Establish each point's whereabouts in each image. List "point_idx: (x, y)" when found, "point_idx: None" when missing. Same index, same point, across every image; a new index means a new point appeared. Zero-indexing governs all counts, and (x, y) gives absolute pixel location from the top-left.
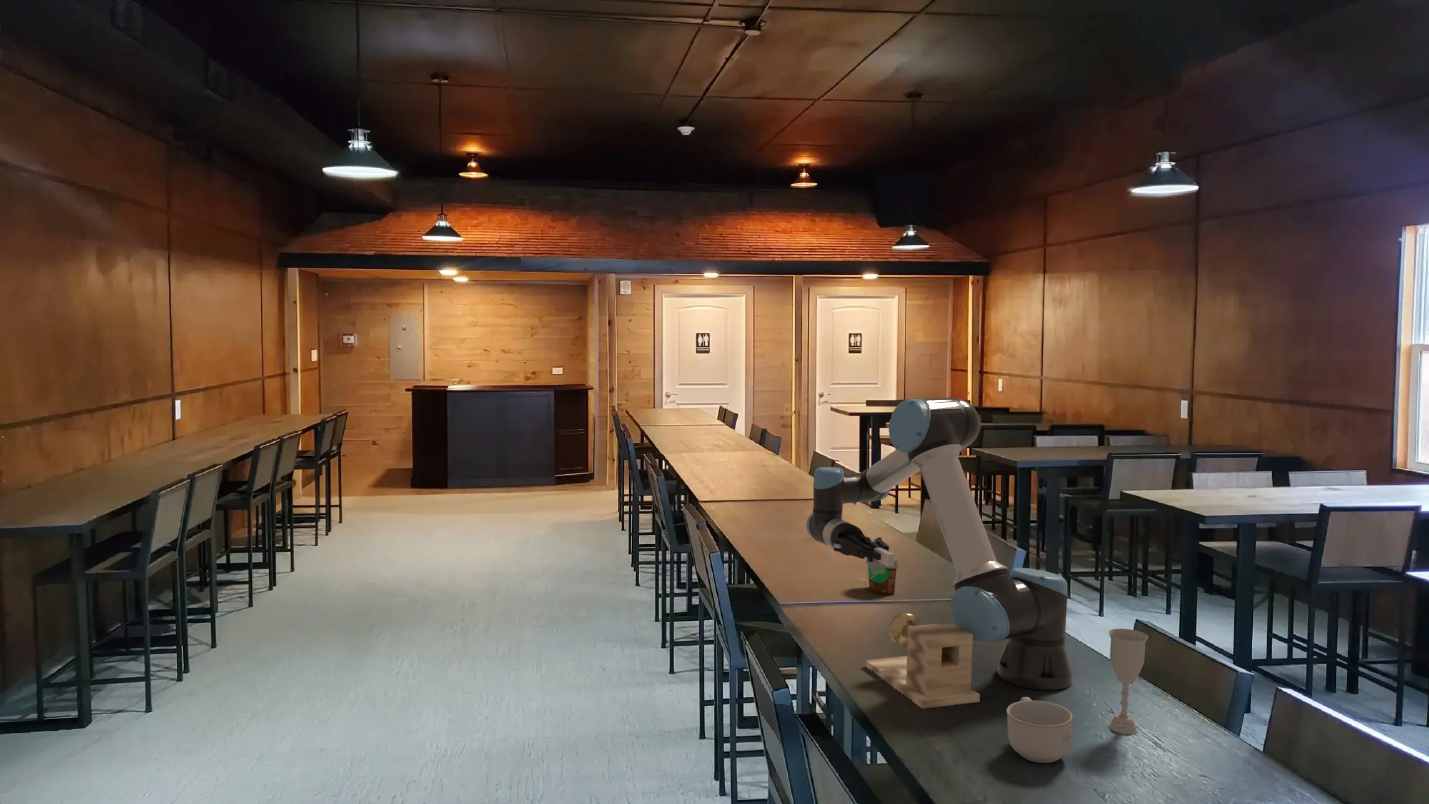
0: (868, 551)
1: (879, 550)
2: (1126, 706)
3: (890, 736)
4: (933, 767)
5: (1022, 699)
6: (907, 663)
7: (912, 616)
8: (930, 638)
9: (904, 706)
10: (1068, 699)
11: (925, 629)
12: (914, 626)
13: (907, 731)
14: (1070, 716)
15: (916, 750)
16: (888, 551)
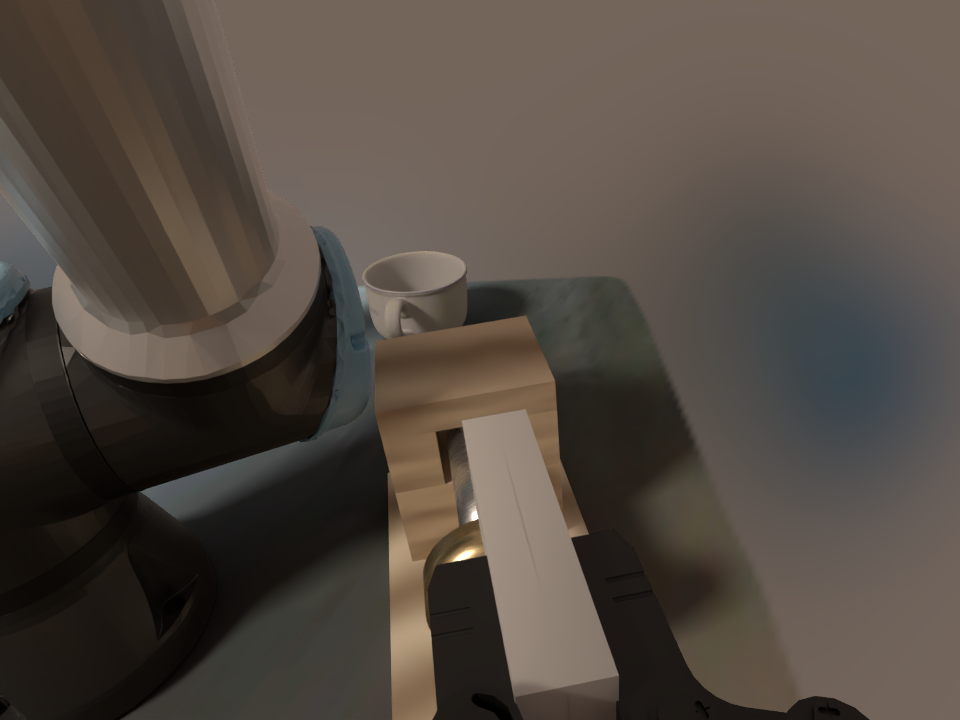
0: (715, 703)
1: (573, 546)
2: None
3: (659, 368)
4: (605, 309)
5: (402, 304)
6: (560, 480)
7: (468, 525)
8: (519, 317)
9: (597, 468)
10: (167, 496)
11: (503, 363)
12: (530, 382)
13: (620, 382)
14: (376, 263)
15: (620, 338)
16: (479, 498)
